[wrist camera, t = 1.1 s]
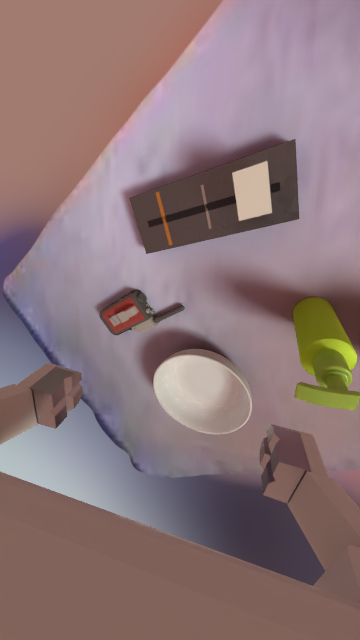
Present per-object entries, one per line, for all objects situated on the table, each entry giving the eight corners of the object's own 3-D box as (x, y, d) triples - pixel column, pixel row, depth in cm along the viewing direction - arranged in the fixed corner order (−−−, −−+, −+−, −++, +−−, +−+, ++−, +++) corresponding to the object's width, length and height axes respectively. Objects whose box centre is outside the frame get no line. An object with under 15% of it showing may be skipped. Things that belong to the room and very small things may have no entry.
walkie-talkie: (123, 338, 57) (188, 308, 47) (112, 348, 53) (181, 318, 43) (101, 309, 55) (166, 270, 45) (89, 317, 51) (156, 277, 41)
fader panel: (293, 143, 30) (295, 138, 27) (297, 217, 33) (299, 219, 31) (138, 197, 40) (129, 198, 37) (153, 250, 43) (146, 254, 41)
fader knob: (268, 167, 29) (267, 160, 24) (272, 209, 31) (271, 212, 26) (239, 176, 31) (232, 172, 25) (244, 216, 33) (239, 221, 27)
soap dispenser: (288, 295, 39) (300, 371, 22) (336, 297, 36) (389, 384, 20) (284, 326, 41) (292, 414, 25) (328, 330, 39) (369, 430, 23)
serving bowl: (256, 341, 45) (254, 363, 39) (252, 418, 54) (249, 444, 48) (159, 332, 52) (145, 349, 46) (170, 401, 61) (159, 422, 55)
